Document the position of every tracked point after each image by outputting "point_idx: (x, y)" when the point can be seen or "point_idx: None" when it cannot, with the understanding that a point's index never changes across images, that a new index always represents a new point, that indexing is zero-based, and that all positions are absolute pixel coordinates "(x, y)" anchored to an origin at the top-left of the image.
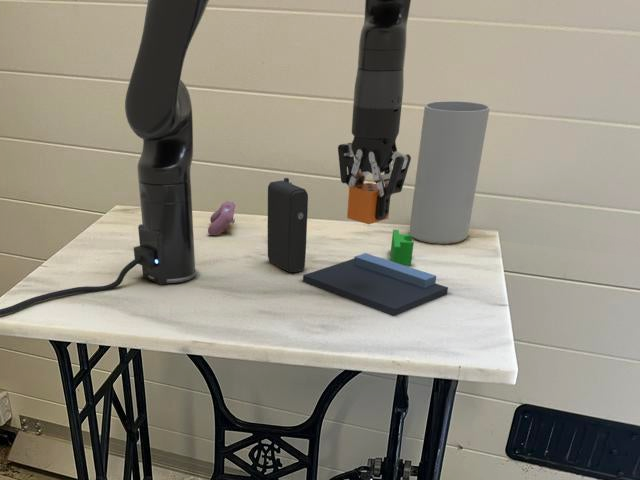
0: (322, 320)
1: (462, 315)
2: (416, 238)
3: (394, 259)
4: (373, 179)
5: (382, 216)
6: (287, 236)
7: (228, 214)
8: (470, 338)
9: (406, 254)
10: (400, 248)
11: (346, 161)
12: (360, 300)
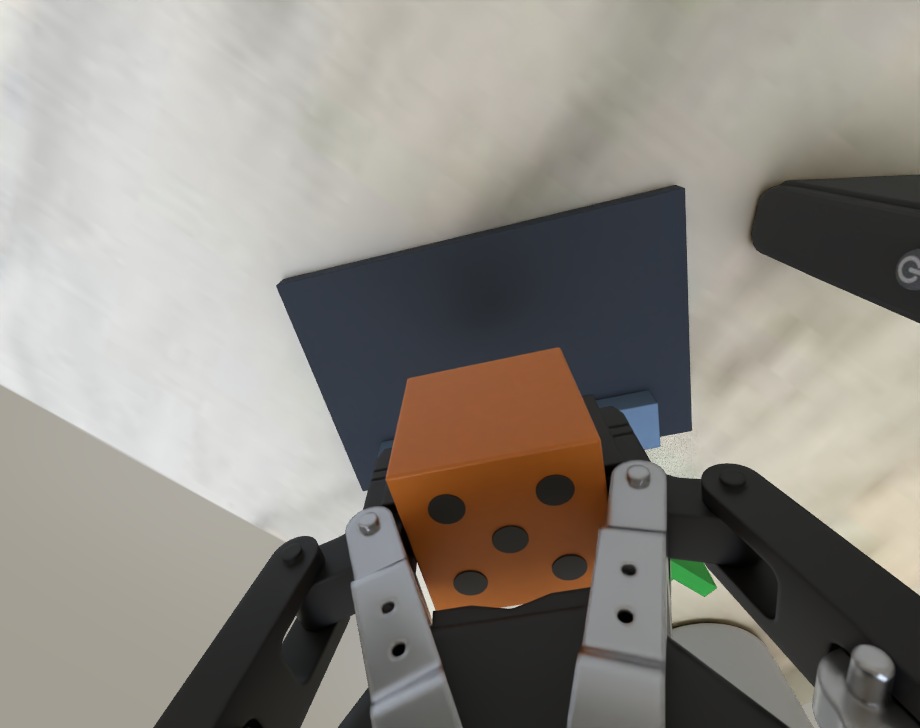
0: (331, 32)
1: (228, 429)
2: (709, 623)
3: None
4: (406, 563)
5: (384, 452)
6: (886, 194)
7: None
8: (84, 359)
9: None
10: None
11: (815, 611)
12: (410, 250)
